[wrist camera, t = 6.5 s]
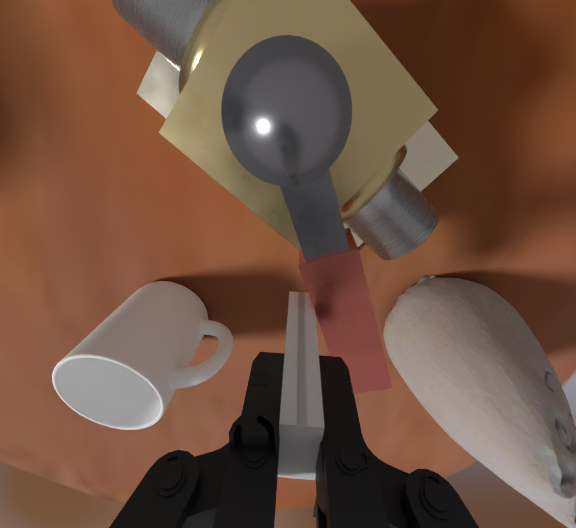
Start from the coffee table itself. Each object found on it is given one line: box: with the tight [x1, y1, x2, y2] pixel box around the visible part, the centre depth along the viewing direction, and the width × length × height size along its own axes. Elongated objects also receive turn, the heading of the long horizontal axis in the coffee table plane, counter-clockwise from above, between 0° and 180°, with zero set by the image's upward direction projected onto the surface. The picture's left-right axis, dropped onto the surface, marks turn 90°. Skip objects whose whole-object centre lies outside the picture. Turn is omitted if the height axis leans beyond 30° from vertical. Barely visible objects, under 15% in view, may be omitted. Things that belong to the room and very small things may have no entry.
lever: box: [221, 35, 392, 393], centre depth 11 cm, size 15×4×3 cm, turn 19°
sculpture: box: [383, 275, 576, 528], centre depth 20 cm, size 13×12×15 cm
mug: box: [52, 281, 233, 430], centre depth 24 cm, size 12×8×10 cm
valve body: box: [112, 0, 459, 260], centre depth 15 cm, size 20×12×10 cm, turn 49°
